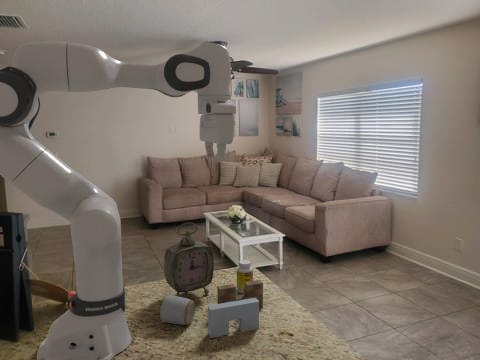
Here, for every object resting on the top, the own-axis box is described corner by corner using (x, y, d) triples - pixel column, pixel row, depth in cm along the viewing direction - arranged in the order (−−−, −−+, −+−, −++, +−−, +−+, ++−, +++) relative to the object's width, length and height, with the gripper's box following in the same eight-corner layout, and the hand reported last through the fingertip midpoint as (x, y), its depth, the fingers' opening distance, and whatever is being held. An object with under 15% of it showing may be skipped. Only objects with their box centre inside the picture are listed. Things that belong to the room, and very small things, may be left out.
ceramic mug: (186, 331, 106) (186, 304, 105) (159, 326, 108) (159, 301, 107) (200, 313, 116) (200, 289, 115) (175, 310, 118) (175, 286, 117)
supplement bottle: (244, 295, 127) (244, 266, 126) (233, 290, 131) (233, 261, 130) (256, 290, 131) (256, 262, 130) (244, 285, 135) (244, 257, 133)
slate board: (210, 337, 102) (210, 309, 101) (208, 333, 104) (207, 305, 103) (258, 328, 107) (259, 301, 106) (255, 324, 109) (255, 297, 108)
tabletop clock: (173, 306, 120) (171, 229, 116) (162, 295, 127) (160, 222, 124) (214, 295, 128) (213, 222, 124) (201, 285, 135) (200, 216, 131)
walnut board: (220, 314, 114) (219, 289, 113) (217, 311, 117) (217, 286, 116) (262, 307, 119) (263, 282, 118) (259, 303, 121) (259, 279, 120)
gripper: (193, 108, 110) (194, 156, 112) (213, 105, 91) (214, 163, 93) (214, 108, 112) (215, 156, 114) (238, 106, 93) (238, 162, 95)
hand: (215, 159), depth 103 cm, fingers open, 8 cm apart
